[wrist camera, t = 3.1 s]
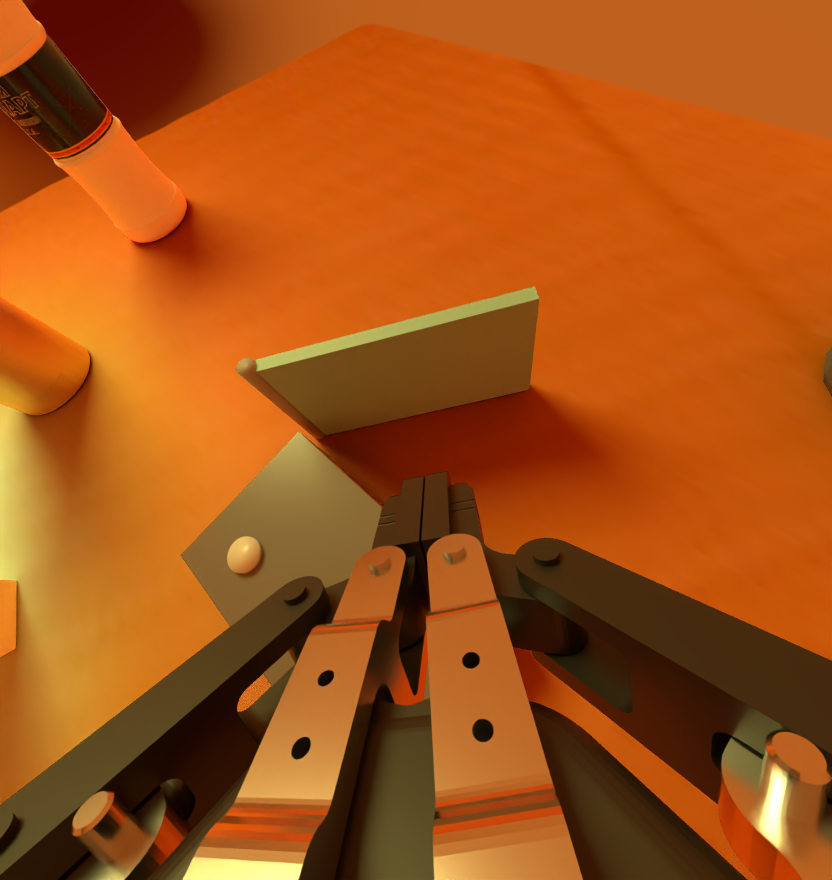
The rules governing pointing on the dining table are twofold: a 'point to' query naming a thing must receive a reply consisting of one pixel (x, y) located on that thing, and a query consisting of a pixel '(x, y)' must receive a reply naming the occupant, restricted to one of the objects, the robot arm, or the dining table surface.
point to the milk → (7, 616)
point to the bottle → (828, 371)
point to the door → (404, 366)
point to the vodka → (81, 130)
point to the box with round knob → (285, 535)
